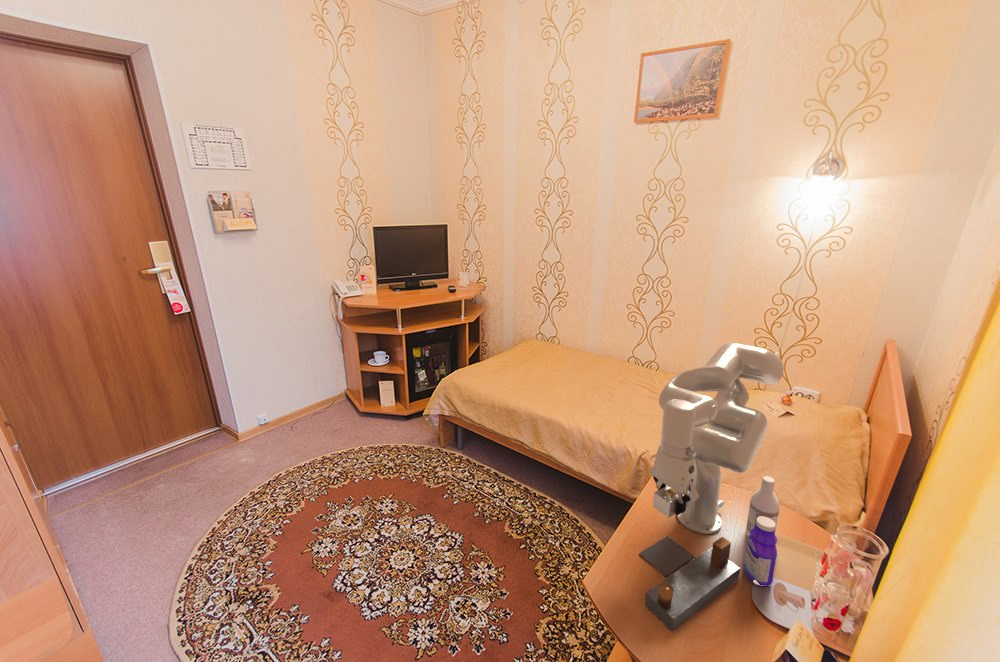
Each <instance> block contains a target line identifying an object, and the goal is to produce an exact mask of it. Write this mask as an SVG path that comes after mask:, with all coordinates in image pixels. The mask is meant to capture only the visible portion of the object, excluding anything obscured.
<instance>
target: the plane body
mask: <svg viewBox="0 0 1000 662" xmlns="http://www.w3.org/2000/svg"><path fill="white" fill-rule="evenodd" d="M731 545H732V542H731V541H730V540H728V539H727V538H725V537H724V536H721V537H719V538H718V539H717V540H715V541H713V542H712V545H711V547H709V548H708V549H707V550H705V551H704V552H702V553H701V554H699V555H698V556H696V557H695V558H693V559H692V560H691V561H689V562H688V563H686V564H685V565H683V566H682V567H680V568H679V569H677V570H676V571H675V572H673V573H672V574H670V575H669V576H667V577H665V578H664V579H663V580H662V581H660V582H658V583H657V584H656V585H655V586H653V587H651V588H650V589H649V590H647V591H645V592H644V593H645V595H644V607H645V608H647V609H648V610H649V611H650V613H652V614H653V615H654V616H655V617H656V618H657V619H658V620H659V621H660V622H661V624H663V625H664V626H665V627H666V628H667V629H668V630H669V631H670V632H671V633H674V631H676V630H678V628H680V627H681V626H682V625H684V624H685V623H686V622H687V621H690V619H691V618H693V617H694V616H695V615H696V614H697V613H699V612H700V611H702V610H703V609H704V608H705V607H706V606H708V605H709V604H710V603H711V602H713V601H714V600H715V599H717V597H719V596H720V595H722V594H723V593H724V592H725V591H726V590H728V589H729V588H730V587H732V586H733V585H734V584H735V583H736V582H738V581H739V579H740V571H741V567H740V566H738V565H737V564H735V563H734V562H733V561H731V560H730V553H731Z"/></svg>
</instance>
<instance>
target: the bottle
mask: <svg viewBox="0 0 1000 662" xmlns="http://www.w3.org/2000/svg"><path fill="white" fill-rule="evenodd" d="M777 542H778V538H777V535H776V531H775V522H774V521H773V520H771V519H770V518H767V517H764V516H760V517H757V520H756V524H755V527H754V528H753V529H751V535H749V537H747V543H746V549H745V556H744V561H743V568H744V569H743V570H744V573H745V574H746V576H747V578H748V580H749V581H750V582H751V583H753V580H756V581H757V582H758V583H759V584H760V585H766V586H765V587H770V586H771V585H772V584H773V581H774V576H775V575H774V574H775V568H776V562H777V556H778V550H777V545H776V544H777ZM769 585H770V586H769Z"/></svg>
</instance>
